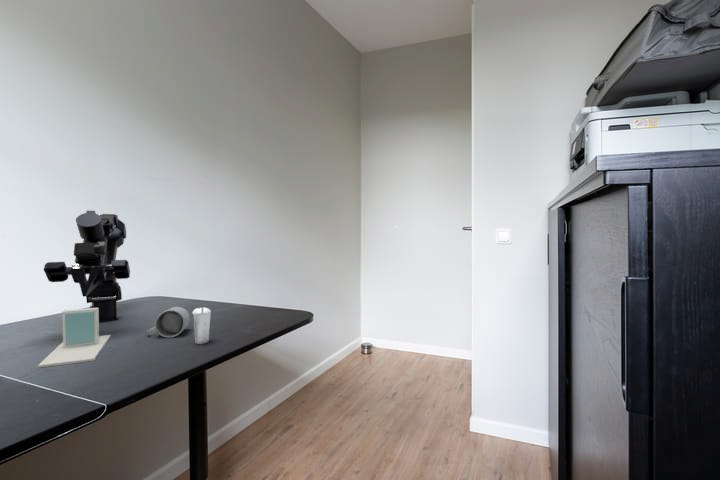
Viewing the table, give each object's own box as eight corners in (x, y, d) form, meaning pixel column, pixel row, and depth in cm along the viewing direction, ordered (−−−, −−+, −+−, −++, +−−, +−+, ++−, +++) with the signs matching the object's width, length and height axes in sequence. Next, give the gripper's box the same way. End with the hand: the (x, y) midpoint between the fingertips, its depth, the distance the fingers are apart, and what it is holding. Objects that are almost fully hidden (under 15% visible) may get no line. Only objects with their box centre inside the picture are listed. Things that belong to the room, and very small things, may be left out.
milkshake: (193, 346, 93) (192, 307, 93) (192, 340, 98) (191, 303, 97) (212, 344, 95) (211, 306, 95) (210, 338, 100) (209, 302, 99)
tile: (65, 345, 92) (64, 310, 92) (99, 341, 95) (98, 307, 95) (62, 348, 90) (62, 312, 90) (97, 344, 93) (96, 309, 93)
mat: (65, 341, 97) (65, 339, 97) (110, 336, 101) (110, 334, 101) (37, 367, 79) (37, 365, 79) (94, 360, 83) (94, 358, 83)
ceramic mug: (191, 328, 109) (190, 303, 109) (185, 336, 101) (184, 309, 101) (152, 331, 107) (151, 305, 107) (142, 339, 99) (141, 311, 99)
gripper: (44, 232, 97) (29, 279, 87) (127, 231, 105) (121, 275, 95) (55, 258, 104) (42, 305, 95) (132, 256, 112) (127, 299, 103)
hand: (84, 295), depth 97 cm, fingers closed
